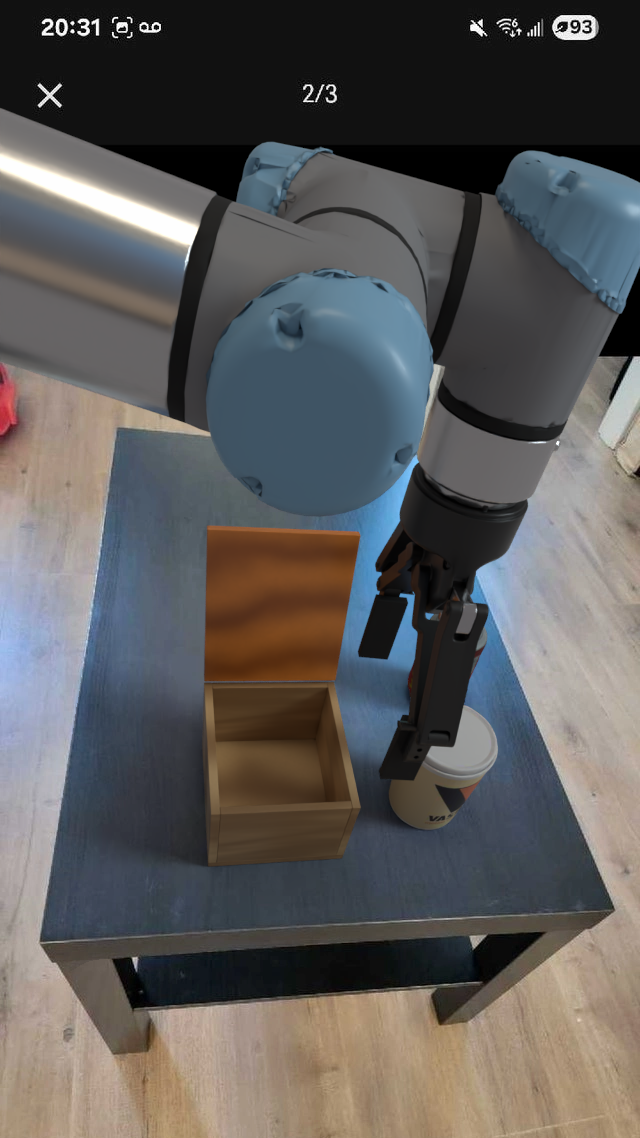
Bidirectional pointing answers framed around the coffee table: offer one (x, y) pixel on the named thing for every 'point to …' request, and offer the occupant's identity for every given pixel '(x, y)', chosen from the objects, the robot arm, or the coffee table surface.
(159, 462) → the coffee table surface
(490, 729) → the coffee cup
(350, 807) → the chest
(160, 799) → the coffee table surface
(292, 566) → the lid
